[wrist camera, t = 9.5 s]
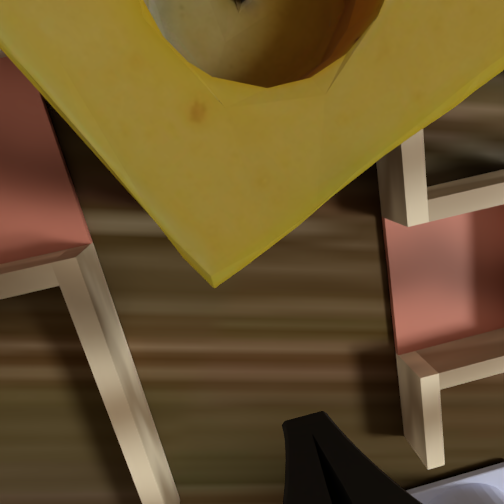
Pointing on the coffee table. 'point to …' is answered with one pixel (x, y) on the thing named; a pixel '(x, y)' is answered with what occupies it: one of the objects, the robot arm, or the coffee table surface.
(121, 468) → the coffee table surface
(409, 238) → the trap channel
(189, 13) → the candle
